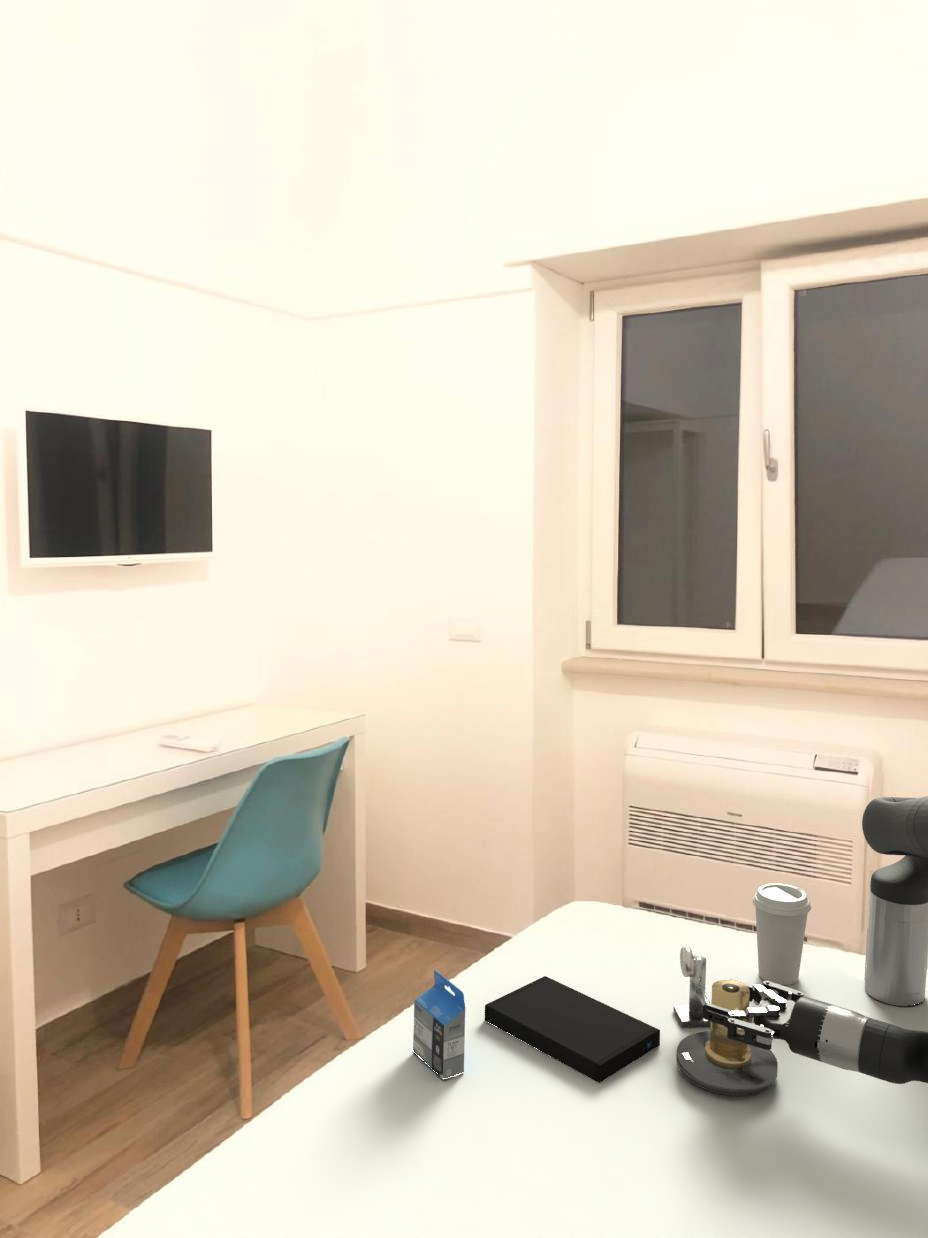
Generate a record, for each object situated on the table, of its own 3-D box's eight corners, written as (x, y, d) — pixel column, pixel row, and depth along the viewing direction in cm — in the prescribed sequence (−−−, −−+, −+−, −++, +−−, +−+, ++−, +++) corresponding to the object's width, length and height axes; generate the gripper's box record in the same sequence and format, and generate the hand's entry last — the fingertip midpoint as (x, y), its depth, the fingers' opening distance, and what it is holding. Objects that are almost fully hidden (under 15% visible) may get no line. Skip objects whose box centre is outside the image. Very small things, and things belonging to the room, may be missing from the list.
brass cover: (699, 1045, 151) (701, 977, 150) (742, 1044, 151) (744, 976, 150) (713, 1069, 144) (716, 999, 143) (757, 1068, 145) (761, 997, 144)
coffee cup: (815, 990, 172) (819, 904, 170) (757, 989, 172) (761, 903, 170) (797, 963, 182) (801, 881, 180) (743, 962, 182) (746, 881, 180)
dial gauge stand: (673, 1011, 165) (675, 941, 164) (710, 1010, 166) (712, 940, 164) (694, 1053, 153) (697, 978, 152) (734, 1051, 154) (737, 977, 152)
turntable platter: (665, 1041, 155) (665, 1030, 154) (757, 1038, 155) (757, 1027, 155) (691, 1097, 141) (692, 1085, 141) (792, 1093, 142) (792, 1081, 141)
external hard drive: (545, 992, 172) (545, 975, 172) (660, 1048, 155) (660, 1029, 155) (484, 1023, 163) (484, 1005, 162) (599, 1085, 146) (599, 1066, 145)
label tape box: (411, 1053, 153) (411, 975, 152) (435, 1045, 156) (435, 968, 154) (442, 1082, 146) (442, 1000, 144) (466, 1074, 148) (466, 993, 146)
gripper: (848, 987, 144) (736, 955, 153) (814, 1031, 132) (695, 993, 142) (845, 1037, 145) (734, 1002, 154) (812, 1085, 133) (694, 1044, 143)
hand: (716, 998), depth 148 cm, fingers open, 8 cm apart
